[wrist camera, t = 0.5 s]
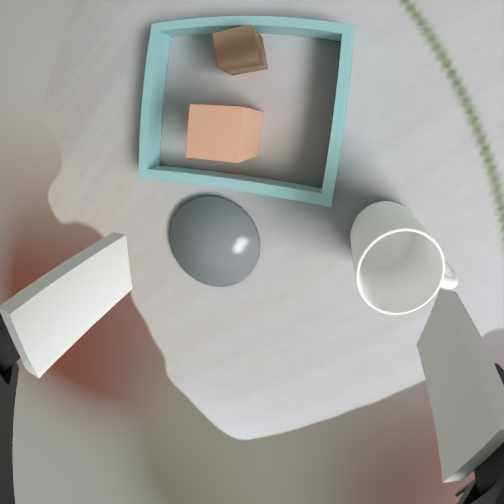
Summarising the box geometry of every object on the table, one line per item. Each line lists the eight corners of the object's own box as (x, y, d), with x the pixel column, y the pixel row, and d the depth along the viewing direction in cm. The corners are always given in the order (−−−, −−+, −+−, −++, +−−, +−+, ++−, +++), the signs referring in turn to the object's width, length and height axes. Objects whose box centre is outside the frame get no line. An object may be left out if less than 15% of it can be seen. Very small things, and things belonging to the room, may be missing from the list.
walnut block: (228, 45, 28) (212, 33, 24) (262, 37, 27) (251, 24, 22) (233, 75, 29) (217, 67, 25) (267, 68, 28) (257, 59, 24)
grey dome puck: (172, 190, 37) (170, 191, 36) (265, 204, 34) (264, 205, 34) (172, 273, 42) (170, 275, 41) (254, 293, 40) (253, 295, 39)
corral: (164, 29, 28) (151, 23, 26) (352, 34, 24) (354, 25, 22) (151, 173, 36) (138, 178, 34) (330, 200, 32) (330, 207, 30)
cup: (362, 189, 31) (376, 214, 22) (452, 223, 29) (488, 258, 20) (340, 255, 35) (341, 301, 26) (425, 283, 33) (448, 332, 24)
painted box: (219, 108, 31) (188, 104, 24) (263, 111, 30) (243, 106, 23) (215, 150, 33) (184, 157, 26) (258, 155, 33) (237, 163, 25)
